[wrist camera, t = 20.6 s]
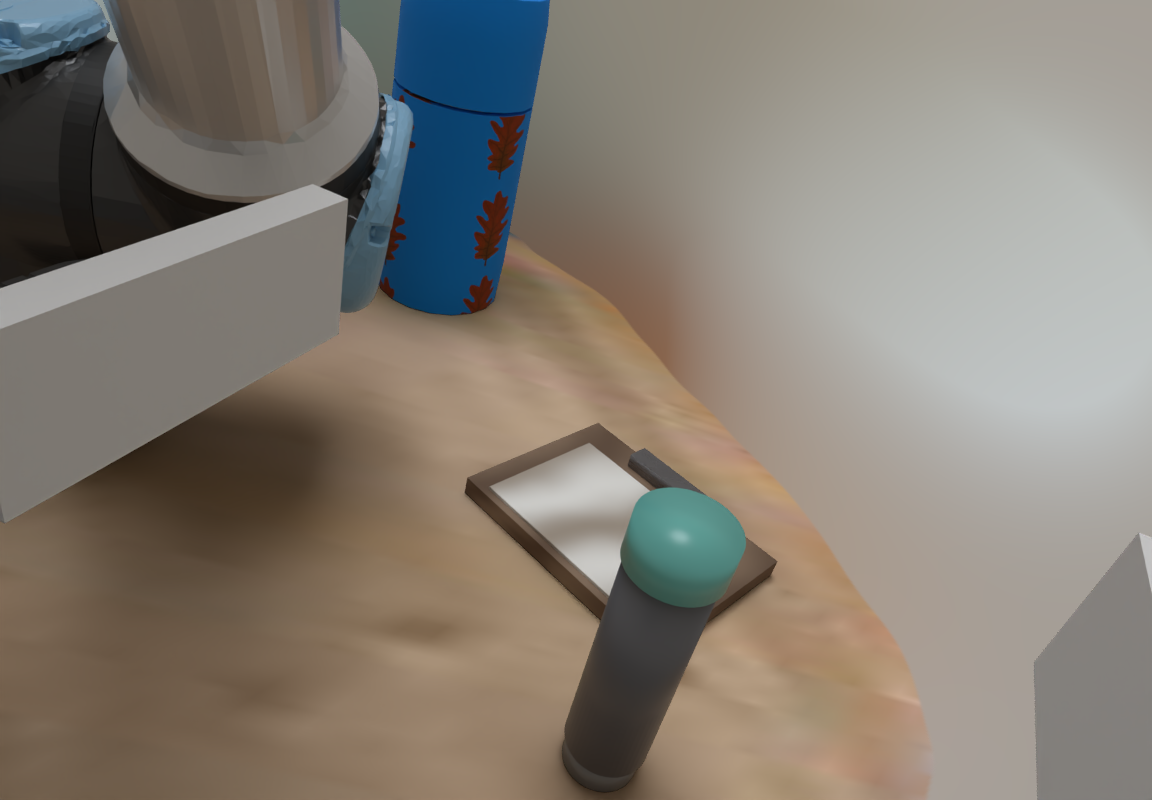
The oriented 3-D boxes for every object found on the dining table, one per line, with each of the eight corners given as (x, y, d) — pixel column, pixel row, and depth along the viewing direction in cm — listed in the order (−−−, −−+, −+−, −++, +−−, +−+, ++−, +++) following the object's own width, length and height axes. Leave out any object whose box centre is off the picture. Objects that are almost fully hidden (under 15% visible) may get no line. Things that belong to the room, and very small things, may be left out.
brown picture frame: (464, 492, 53) (469, 465, 52) (594, 436, 61) (601, 411, 60) (649, 665, 45) (660, 638, 44) (770, 574, 53) (783, 550, 52)
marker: (534, 746, 39) (609, 512, 31) (598, 699, 42) (681, 474, 34) (600, 819, 37) (698, 588, 29) (662, 764, 40) (768, 539, 32)
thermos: (352, 264, 74) (376, -46, 60) (453, 250, 81) (495, -32, 67) (418, 325, 68) (461, -4, 55) (521, 304, 75) (582, 6, 61)
